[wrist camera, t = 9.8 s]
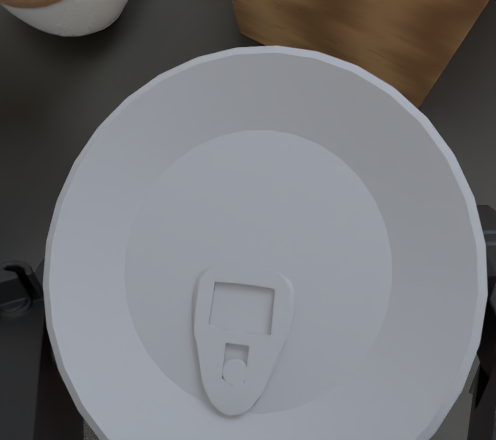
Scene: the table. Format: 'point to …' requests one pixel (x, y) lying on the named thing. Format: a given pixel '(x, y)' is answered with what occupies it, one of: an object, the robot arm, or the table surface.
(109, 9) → the trinket box
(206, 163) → the canned food
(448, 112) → the table surface
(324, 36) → the chest
